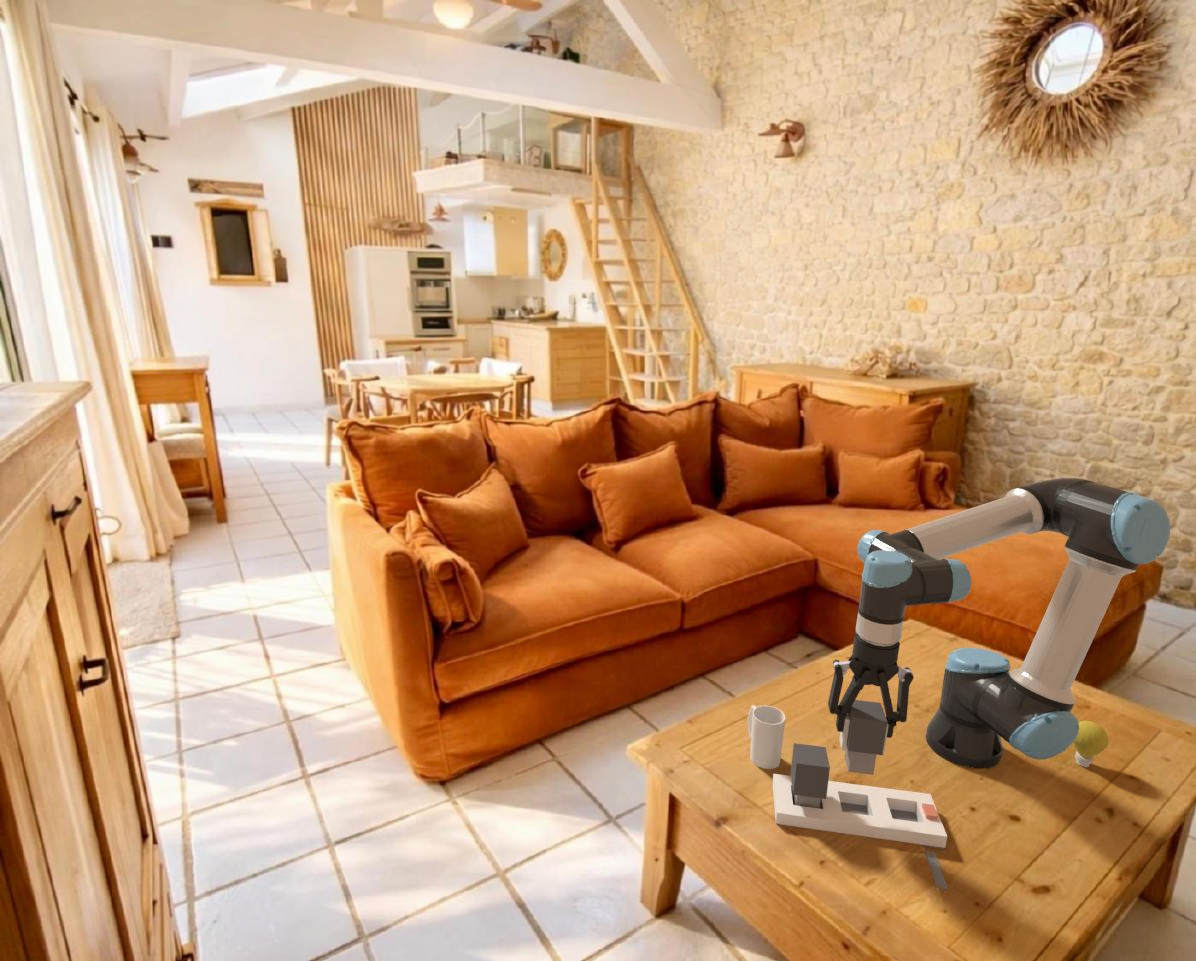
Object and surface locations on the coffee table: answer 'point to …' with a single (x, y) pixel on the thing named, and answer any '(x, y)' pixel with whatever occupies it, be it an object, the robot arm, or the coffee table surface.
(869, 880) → the coffee table surface
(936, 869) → the pad
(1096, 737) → the light bulb
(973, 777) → the coffee table surface
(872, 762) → the plug
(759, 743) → the mug
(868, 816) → the strip
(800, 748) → the twin plug
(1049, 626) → the robot arm
